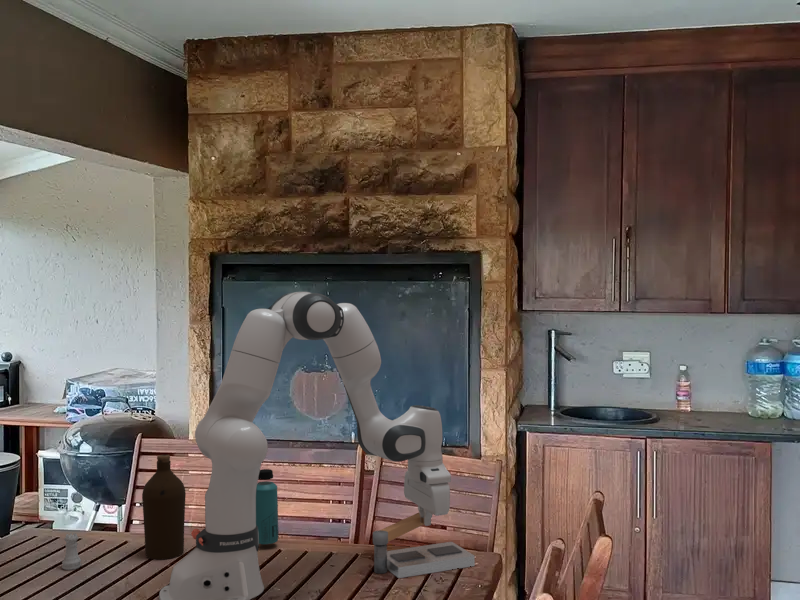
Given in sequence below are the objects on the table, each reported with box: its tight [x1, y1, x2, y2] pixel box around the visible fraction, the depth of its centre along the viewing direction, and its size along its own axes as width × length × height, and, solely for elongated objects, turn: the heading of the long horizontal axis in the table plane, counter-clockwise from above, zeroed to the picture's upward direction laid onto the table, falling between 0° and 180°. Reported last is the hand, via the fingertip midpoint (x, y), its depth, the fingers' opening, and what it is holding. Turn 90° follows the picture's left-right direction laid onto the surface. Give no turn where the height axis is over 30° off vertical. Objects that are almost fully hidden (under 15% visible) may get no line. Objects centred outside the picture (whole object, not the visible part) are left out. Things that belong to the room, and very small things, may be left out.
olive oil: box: [141, 454, 186, 561], centre depth 208 cm, size 11×11×25 cm
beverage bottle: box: [256, 468, 280, 545], centre depth 214 cm, size 6×7×20 cm
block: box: [373, 541, 475, 579], centre depth 198 cm, size 24×12×6 cm, turn 114°
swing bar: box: [372, 512, 425, 545], centre depth 203 cm, size 23×4×2 cm, turn 148°
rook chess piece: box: [61, 532, 82, 571], centre depth 199 cm, size 4×4×8 cm
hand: (425, 524), depth 207 cm, fingers closed
